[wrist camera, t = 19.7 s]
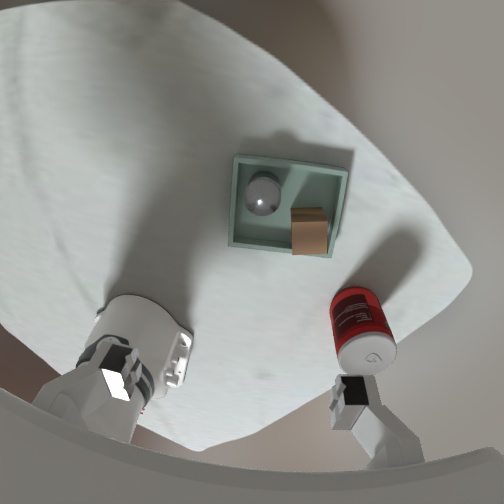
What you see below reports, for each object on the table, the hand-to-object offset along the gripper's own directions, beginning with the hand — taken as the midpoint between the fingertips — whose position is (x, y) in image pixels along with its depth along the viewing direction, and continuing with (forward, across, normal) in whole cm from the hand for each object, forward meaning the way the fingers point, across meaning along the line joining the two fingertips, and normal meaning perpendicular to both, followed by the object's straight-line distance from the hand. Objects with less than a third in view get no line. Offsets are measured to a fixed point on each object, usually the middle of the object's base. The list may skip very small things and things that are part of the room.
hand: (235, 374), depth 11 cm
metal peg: (+29, 0, 0) cm, 29 cm away
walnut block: (+29, -5, +4) cm, 29 cm away
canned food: (+29, -15, +16) cm, 37 cm away
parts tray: (+29, -2, +2) cm, 29 cm away
